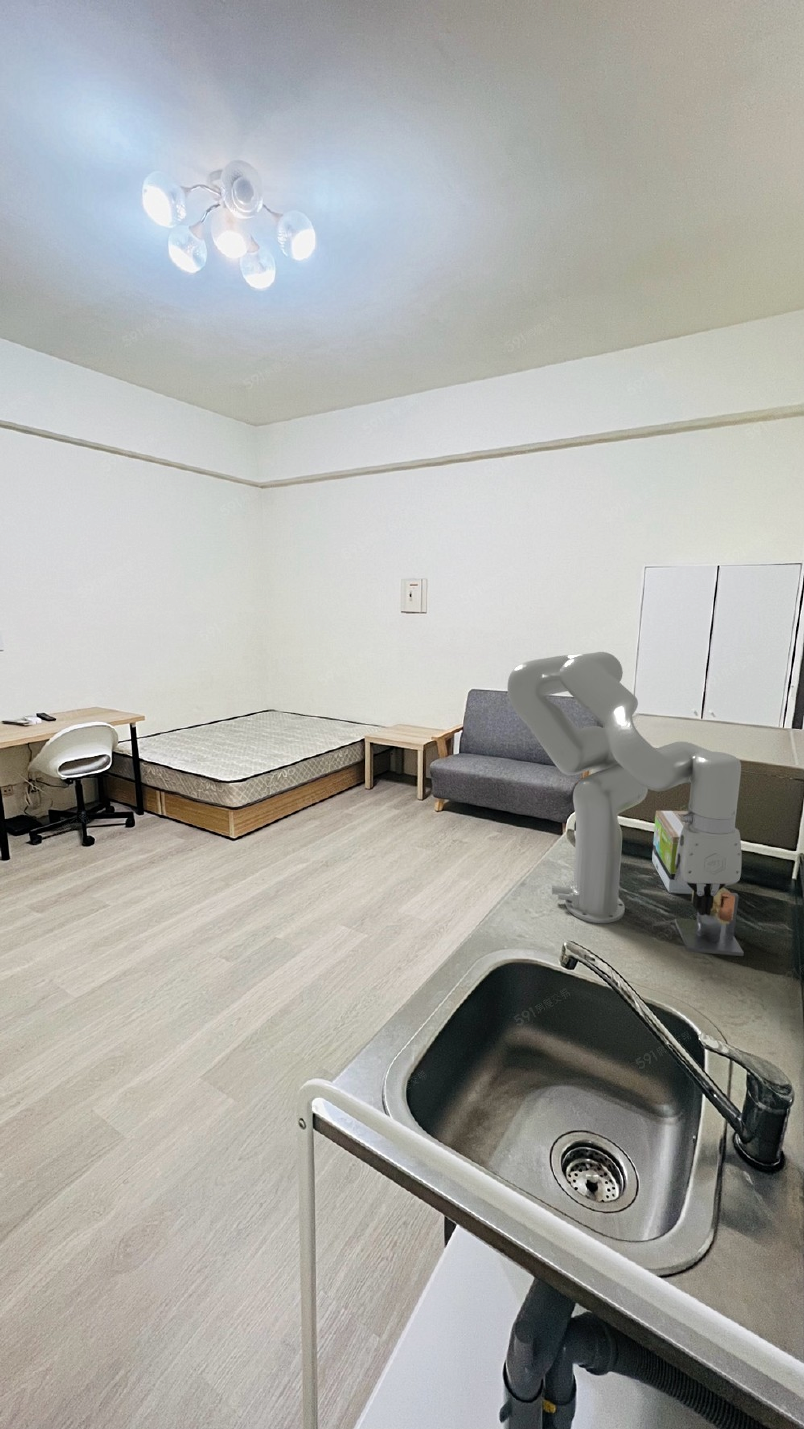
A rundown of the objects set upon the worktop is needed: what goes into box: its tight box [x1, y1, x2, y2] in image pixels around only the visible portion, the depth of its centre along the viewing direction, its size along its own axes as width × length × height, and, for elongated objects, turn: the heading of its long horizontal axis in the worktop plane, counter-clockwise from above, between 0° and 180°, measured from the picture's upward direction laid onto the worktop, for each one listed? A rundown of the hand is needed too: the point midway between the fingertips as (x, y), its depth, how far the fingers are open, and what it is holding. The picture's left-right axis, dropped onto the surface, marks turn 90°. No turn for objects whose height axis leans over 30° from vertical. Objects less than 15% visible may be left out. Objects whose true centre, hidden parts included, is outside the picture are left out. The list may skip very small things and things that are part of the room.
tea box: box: [651, 809, 693, 895], centre depth 139 cm, size 15×10×15 cm, turn 172°
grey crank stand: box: [674, 892, 745, 957], centre depth 117 cm, size 10×10×9 cm
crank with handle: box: [691, 887, 735, 924], centre depth 113 cm, size 12×7×7 cm, turn 169°
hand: (701, 911), depth 109 cm, fingers closed
